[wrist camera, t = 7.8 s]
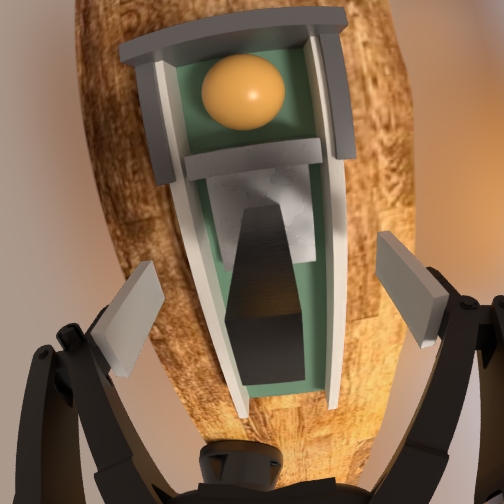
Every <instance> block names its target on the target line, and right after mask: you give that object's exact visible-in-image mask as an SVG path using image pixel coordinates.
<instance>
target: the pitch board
mask: <svg viewBox="0 0 504 504" xmlns="http://www.w3.org/2000/svg"><path fill="white" fill-rule="evenodd" d="M247 54H253V55H257V56H260V57H262V58H264V59H266V60H267V61H269V62H270V63H272V64H273V65H274V66H275V67H276V69H277V70H278V71H279V73H280V74H281V76H282V79H283V82H284V86H285V98H284V102H283V105H282V107H281V109H280V111H279V112H278V114H277V115H276V116H275V117H274V118H273V119H272V120H271V121H270V122H268V123H267V124H265V125H263V126H261V127H259V128H256V129H253V130H244V131H242V130H234V129H230V128H227V127H224V126H223V125H221V124H219V123H218V122H216V121H215V120H214V119H213V118H212V117H211V116H210V115H209V113H208V112H207V110H206V108H205V106H204V104H203V100H202V84H203V81H204V78H205V76H206V74H207V73H208V71H209V70H210V68H211V67H212V66H213V65H214V64H215V63H217V62H218V61H220V60H221V59H223V58H225V57H223V58H217V59H212V60H207V61H203V62H198V63H194V64H190V65H186V66H182V67H178V68H175V67H173V66H172V65H170V64H168V63H166V62H165V61H163V60H162V61H159V62H156V63H155V66H156V72H157V79H158V85H159V92H160V98H161V104H162V110H163V115H164V121H165V126H166V132H167V137H168V142H169V147H170V152H171V157H172V162H173V167H174V172H175V177H176V181H175V182H174V183H169V184H170V188H171V193H172V197H173V201H174V206H175V210H176V214H177V218H178V222H179V226H180V230H181V234H182V238H183V242H184V246H185V249H186V253H187V257H188V261H189V264H190V268H191V271H192V275H193V279H194V282H195V286H196V289H197V292H198V296H199V299H200V303H201V306H202V309H203V313H204V316H205V319H206V322H207V325H208V329H209V332H210V335H211V338H212V341H213V344H214V347H215V350H216V353H217V356H218V359H219V362H220V365H221V368H222V371H223V374H224V377H225V380H226V382H227V385H228V388H229V391H230V394H231V396H232V399H233V402H234V404H235V407H236V410H237V412H238V415H239V418H248V416H249V398H254V397H268V396H280V395H290V394H299V393H307V392H314V391H321V390H325V394H326V400H327V405H328V410H331V409H337V405H338V397H339V389H340V380H341V371H342V361H343V349H344V336H345V320H346V298H347V211H346V189H345V173H344V160H337V159H336V156H335V146H334V136H333V127H332V119H331V111H330V104H329V97H328V90H327V83H326V77H325V71H324V65H323V60H322V54H321V49H320V44H319V39H318V37H309V39H308V41H307V42H306V44H305V46H304V47H303V48H297V49H283V50H272V51H263V52H254V53H247ZM305 135H311V136H315V137H319V138H320V142H321V151H322V161H323V163H314V164H308V167H309V176H310V187H311V197H312V209H313V222H314V236H315V252H316V261H311V262H303V263H295V264H293V269H294V274H295V279H296V284H297V289H298V294H299V299H300V305H301V310H302V321H303V338H304V359H305V380H303V381H294V382H285V383H275V384H263V385H249V386H242V382H241V379H240V376H239V372H238V369H237V365H236V362H235V358H234V355H233V351H232V348H231V344H230V340H229V337H228V333H227V329H226V326H225V322H224V319H225V313H226V307H227V301H228V295H229V290H230V284H231V278H232V273H233V271H228V272H225V269H224V265H223V260H222V255H221V251H220V246H219V241H218V237H217V232H216V227H215V222H214V218H213V213H212V208H211V203H210V198H209V193H208V188H207V183H206V178H204V179H198V180H193V181H188V176H187V171H186V166H185V161H184V157H185V156H187V155H189V154H192V153H194V152H196V151H200V150H205V149H211V148H216V147H222V146H228V145H234V144H240V143H247V142H254V141H261V140H268V139H277V138H285V137H295V136H305Z"/></svg>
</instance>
